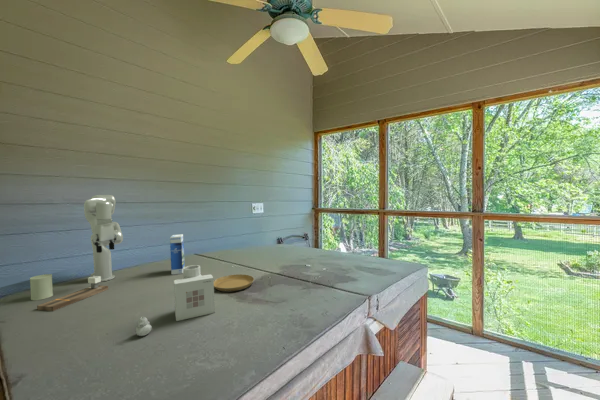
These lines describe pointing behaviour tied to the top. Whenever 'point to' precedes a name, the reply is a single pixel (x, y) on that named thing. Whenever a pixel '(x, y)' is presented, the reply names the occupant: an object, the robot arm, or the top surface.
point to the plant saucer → (233, 282)
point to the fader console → (71, 298)
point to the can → (41, 287)
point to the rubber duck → (143, 327)
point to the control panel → (193, 294)
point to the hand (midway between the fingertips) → (105, 250)
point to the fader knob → (94, 281)
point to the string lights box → (177, 254)
